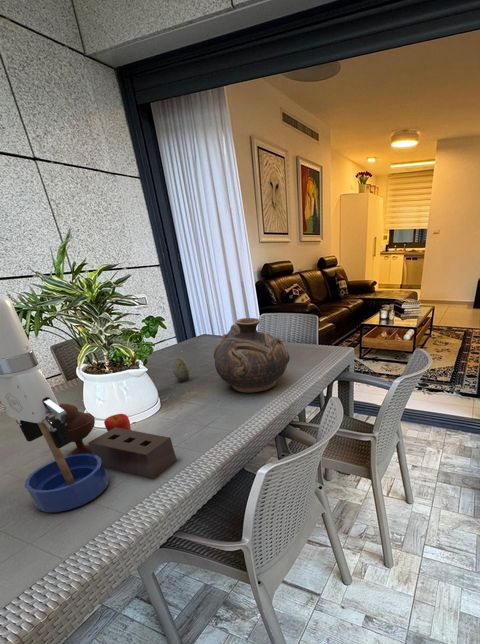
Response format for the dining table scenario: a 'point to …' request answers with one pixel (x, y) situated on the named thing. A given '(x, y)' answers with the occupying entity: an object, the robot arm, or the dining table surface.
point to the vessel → (250, 357)
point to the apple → (117, 422)
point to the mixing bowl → (53, 489)
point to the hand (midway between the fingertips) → (49, 441)
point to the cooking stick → (57, 454)
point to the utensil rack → (134, 452)
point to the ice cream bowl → (78, 427)
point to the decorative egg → (181, 369)
